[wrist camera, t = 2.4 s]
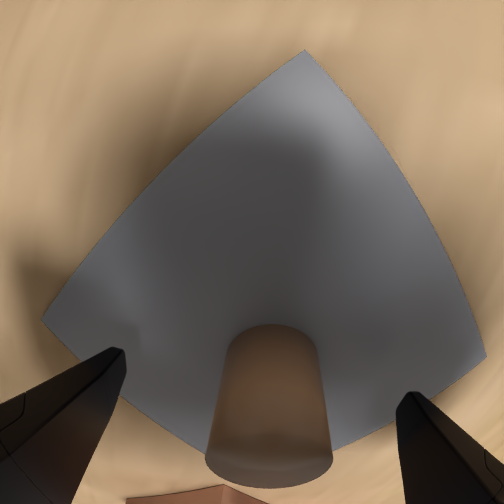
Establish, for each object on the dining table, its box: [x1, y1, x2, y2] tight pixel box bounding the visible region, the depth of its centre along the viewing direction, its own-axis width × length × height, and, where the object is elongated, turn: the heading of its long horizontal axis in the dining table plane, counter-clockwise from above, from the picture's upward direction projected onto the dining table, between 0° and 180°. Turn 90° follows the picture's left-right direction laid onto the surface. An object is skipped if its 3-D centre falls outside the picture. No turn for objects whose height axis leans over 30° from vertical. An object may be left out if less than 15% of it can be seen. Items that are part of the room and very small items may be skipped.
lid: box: [41, 50, 487, 489], centre depth 8 cm, size 13×13×5 cm
